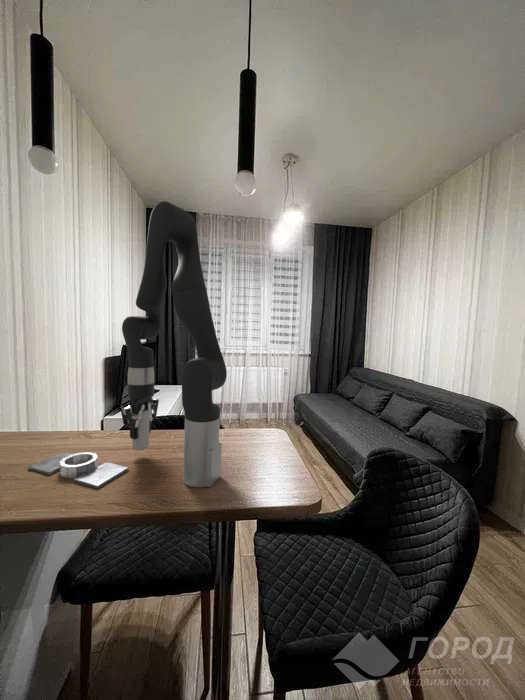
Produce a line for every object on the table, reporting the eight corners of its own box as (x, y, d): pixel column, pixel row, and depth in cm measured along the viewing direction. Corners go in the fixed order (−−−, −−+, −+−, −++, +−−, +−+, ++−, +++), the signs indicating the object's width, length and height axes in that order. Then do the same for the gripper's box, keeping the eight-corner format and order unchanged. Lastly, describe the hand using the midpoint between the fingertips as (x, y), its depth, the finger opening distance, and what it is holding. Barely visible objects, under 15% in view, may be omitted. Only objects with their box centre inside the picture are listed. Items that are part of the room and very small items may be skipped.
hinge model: (128, 470, 79) (128, 459, 78) (97, 488, 69) (97, 477, 69) (64, 454, 86) (64, 444, 86) (28, 469, 77) (28, 458, 76)
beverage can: (128, 448, 86) (128, 410, 85) (142, 443, 90) (142, 406, 89) (139, 452, 84) (139, 413, 83) (152, 446, 88) (152, 409, 87)
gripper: (133, 386, 78) (133, 446, 79) (166, 379, 91) (165, 429, 92) (112, 384, 80) (112, 442, 81) (147, 377, 94) (147, 426, 95)
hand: (140, 435), depth 87 cm, fingers closed on beverage can, 5 cm apart
